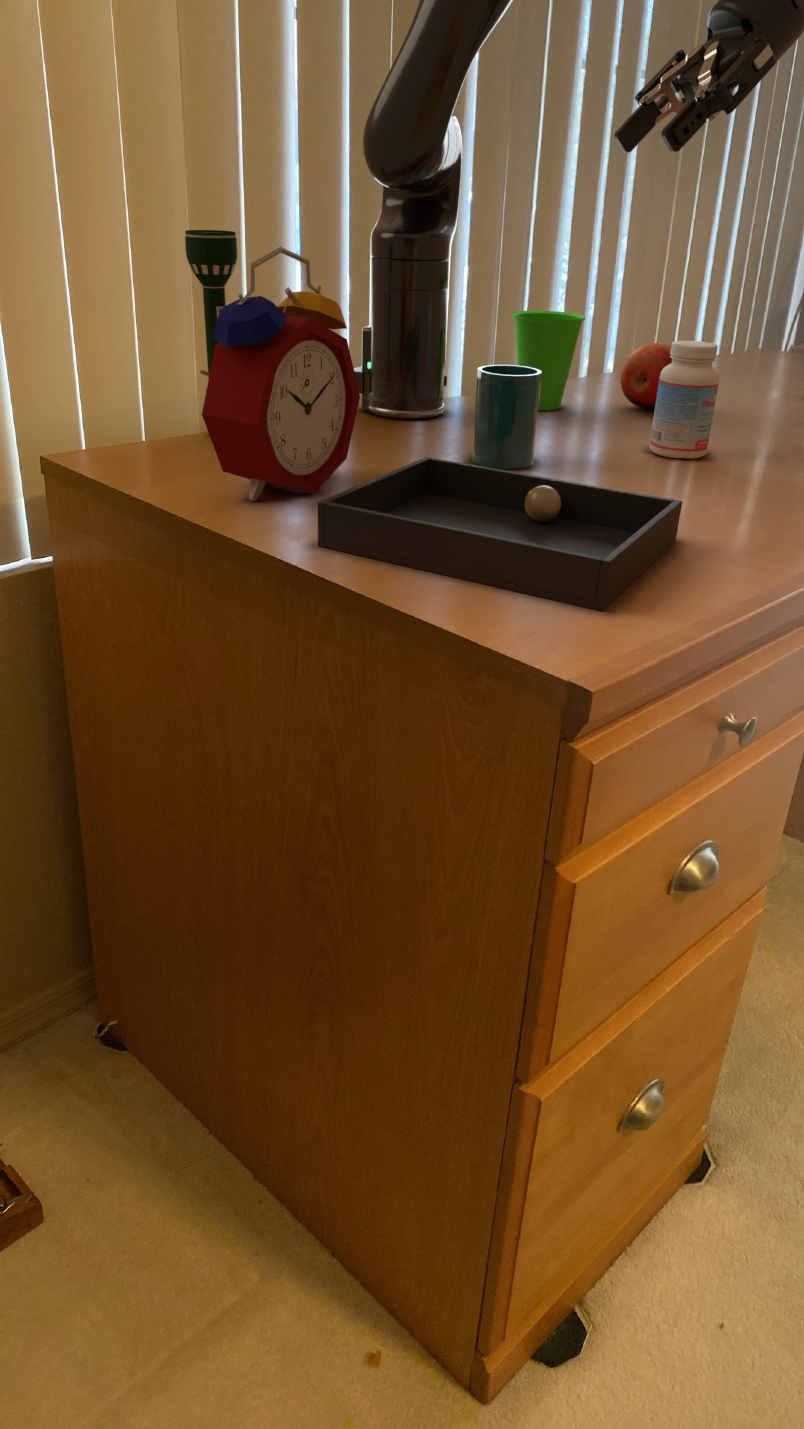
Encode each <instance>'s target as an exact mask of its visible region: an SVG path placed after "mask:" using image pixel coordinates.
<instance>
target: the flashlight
mask: <svg viewBox="0 0 804 1429" xmlns="http://www.w3.org/2000/svg"><path fill="white" fill-rule="evenodd" d="M236 235H237V233H236V231H232V230H217V229H188V230H187V229H186V230H185V236H184V241H185V242H184V245H185V256H186V259H187V262H188V266H189V268H190V270H191V271H192V273H193V275H194V276H195V277H196V278H197V280H198V281H199V283H200V284H201V286H202V297H203V312H204V328H205V329H204V330H205V331H204V332H205V345H206V360H207V361H206V362H207V363H206V364H207V372H209V373H210V370H211V365H212V360H213V354H214V349H215V345H216V344H217V343H218V341H217V340H215V339H213V334H214V330H215V326H216V322H217V318H218V316H219V314H220V312H221V310H222V308H223V307H224V306H226V305H227V304H226V303H227V302H226V285H227V283H228V282H229V280H230V278H231V276H232V275H233V273H234V271H235V269H236V265H237V262H238V261H237V260H238V243H237V242H238V241H237V236H236ZM207 378H208V380H209V376H207Z"/></svg>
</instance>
